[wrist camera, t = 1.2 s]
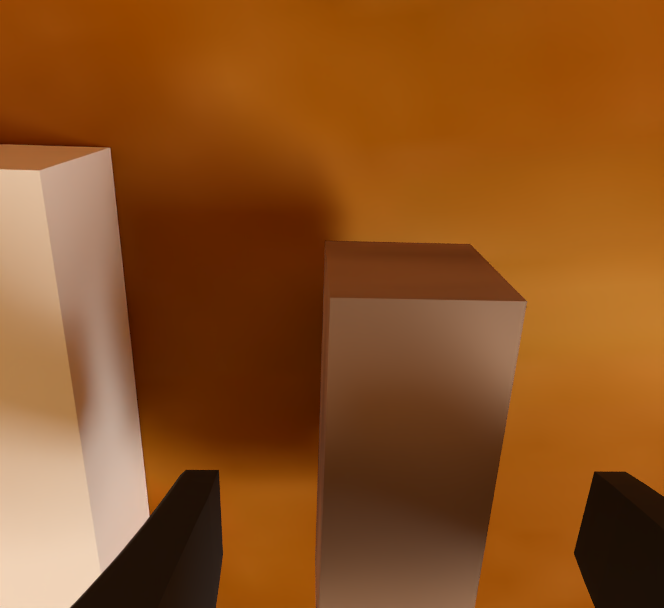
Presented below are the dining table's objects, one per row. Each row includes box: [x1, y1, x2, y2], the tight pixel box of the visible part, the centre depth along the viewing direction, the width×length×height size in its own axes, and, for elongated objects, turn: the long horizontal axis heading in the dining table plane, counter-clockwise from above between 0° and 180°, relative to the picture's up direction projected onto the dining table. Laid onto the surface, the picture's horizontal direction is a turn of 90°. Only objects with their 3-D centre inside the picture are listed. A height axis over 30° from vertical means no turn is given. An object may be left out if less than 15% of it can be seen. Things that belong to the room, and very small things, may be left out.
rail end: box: [315, 241, 527, 608], centre depth 14 cm, size 9×3×6 cm, turn 178°
